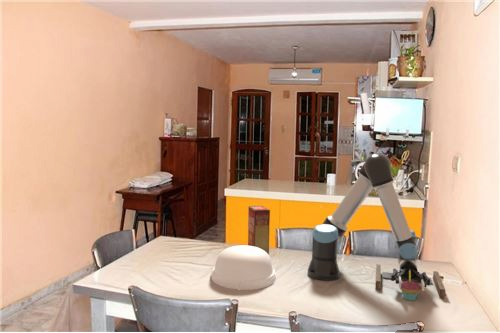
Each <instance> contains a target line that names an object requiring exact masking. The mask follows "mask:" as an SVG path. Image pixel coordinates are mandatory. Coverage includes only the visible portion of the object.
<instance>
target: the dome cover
mask: <svg viewBox="0 0 500 333" xmlns="http://www.w3.org/2000/svg"><path fill="white" fill-rule="evenodd" d="M210 277H211V280H212V281H213V283H215V284H216V285H218V286H221V287H223V288H226V289H232V290H237V291H241V290H243V291H245V290H246V291H249V290H258V289H259V290H260V289H263V288H267V287H269V286H272V285H273V284H274V283H275V282H276V280H277V278H276V277H277V274H276V270H275V269H274V266H273V261H272V258H271V256H270V254H267V253H266V252H265V251H264V250H262V249H260V248H258V247H254V246H248V244H246V245H244V244H243V245H242V244H241V245H233V246H229V247H227V248H225V249H223V250H222V251H221V252H219V254H218V256H217V258H216V260H215V264H214V267H213V268H212V271H211V276H210Z"/></svg>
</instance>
